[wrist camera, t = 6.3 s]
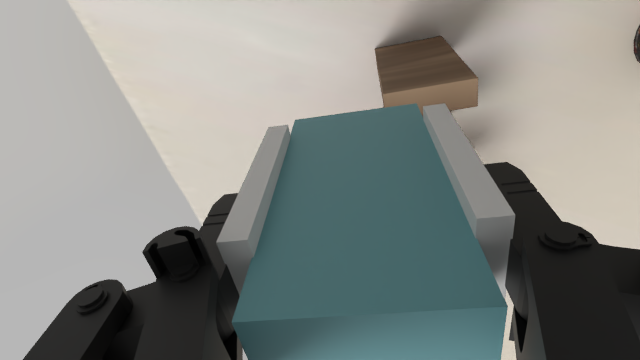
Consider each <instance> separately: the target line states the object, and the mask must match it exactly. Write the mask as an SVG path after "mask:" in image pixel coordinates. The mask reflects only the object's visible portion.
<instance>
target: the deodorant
mask: <svg viewBox="0 0 640 360" xmlns="http://www.w3.org/2000/svg"><path fill="white" fill-rule="evenodd" d="M634 54H635V56H636V59H637V61H638V62H639V63H640V26H639V28H638V30H637V32H636V35H635V39H634Z"/></svg>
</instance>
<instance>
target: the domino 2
mask: <svg viewBox="0 0 640 360" xmlns="http://www.w3.org/2000/svg"><path fill="white" fill-rule="evenodd" d="M375 54H376V61H377V69H378V75H379V81H380V87H381V92H382V98H383V104H384V108H386V107H393V106H401V105H408V104H415V103H417V105H418V108H419V110H420V112H421V114H422V115H423V106H429V105H436V104H444V103H445V104H446V106H447V108H448V109H449V111H450V110H457V109H463V108H469V107H476V106H478V77H477V76H476V75H475V74H474V73H473V72H472V71H471V69H470V68H469V67H468V66H467V65H466V64H465V63H464V61H463V60H462V59H461V58H460V57H459V56H458V55H457V53H456V52H455V51H454V50H453V49H452V48H451V46H450V45H449V44H448V43H447V42H446V41H445V40H444V38H443V37H442V36H438V37H433V38H428V39H423V40H418V41H412V42H407V43H402V44H397V45H392V46H386V47H381V48H376V49H375Z"/></svg>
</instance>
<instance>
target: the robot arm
mask: <svg viewBox="0 0 640 360" xmlns="http://www.w3.org/2000/svg"><path fill="white" fill-rule="evenodd" d="M423 120H424V123H425V125H426V127H427V129H428V132H429V134H430V136H431V138H432V141H433V143H434V145H435V148H436V150H437V152H438V154H439V157H440V159H441V161H442V163H443V166H444V168H445V170H446V172H447V175H448V177H449V179H450V182H451V184H452V186H453V188H454V191H455V193H456V195H457V197H458V200H459V202H460V204H461V207H462V209H463V211H464V213H465V216H466V218H467V220H468V222H469V225H470V227H471V229H472V231H473V234H474V236H475V238H477V239H478V241H479V244H480V246H481V248H482V250H483V253H484V255H485V257H486V259H487V261H488V264H489V266H490V268H491V270H492V273H493V275H494V277H495V279H496V282H497V284H498V286H499V288H500V291H501V293H502V295H503V297H504V299H505V296H506V289H507V291H508V293H509V295H510V298H511V300H512V302H513V304H514V308H513V315H512V322H511V329H510V336H509V340H511V341H515V349H516V358H517V360H640V250H639V249H630V248H622V247H614V246H608V245H603V244H599V243H598V242H597V240H596V239H595V238H594V236H593V235H592V234H591V233H589V232H588V231H586V230H585V229H583V228H581V227H579V226H576V225H573V224H571V223H568V222H562V221H561V220H560V218H559V217H558V216H557V214H556V213H555V212H554V211H553V209H552V208H551V207H550V206H549V204H548V203H547V202H546V201H545V199H544V198H543V197H542V195H541V194H540V193H539V192H537V189H536V188H535V187H534V185H533V184H532V183H530V180H529V179H528V178H527V176H526V175H525V174H524V173H523V171H522V170H520V169H518V168H517V167H515V166H513V165H511V164H509V163H508V162H503V163H494V164H485V165H484V164H483V163H482V161H481V160H480V158H479V157H478V155H477V153H476V152H475V150H474V149H473V147H472V146H471V144H470V142H469V141H468V139H467V138H466V136H465V134H464V133H463V131H462V130H461V128H460V127H459V125H458V123H457V122H456V120H455V119H454V117H453V115H452V114H451V112H450V111H449V109H448V108H447V106H446V104H445V103H444V104H436V105H429V106H423ZM290 138H291V136H290V132H289V128H288V125H283V126H275V127H268V130H267V132H266V134H265V136H264V138H263V141H262V143H261V145H260V147H259V149H258V152H257V154H256V156H255V158H254V160H253V163H252V165H251V167H250V169H249V171H248V173H247V176H246V178H245V180H244V182H243V184H242V187H241V189H240V191H239V193H235V194H226V195H223V196H222V197H221V198H220V199H219V200H218V201H217V202H216V203H215V204H213V206H212V208H211V210H210V212H209V214H208V217H206V219H205V221H204V223H203V226H202V227H201V228H200V230H199V231H198V230H197V229H195V228H193V227H187V226H186V227H185V226H184V227H177V228H174V229H171V230H168V231H165V232H163V233H162V234H160V235H158V236H157V237H155V238H154V239H153V240H152V241H150V242H149V243H148V244H147V245H146V247H145V249H144V250H143V254H144V256H145V258H146V260H147V262H148V263H149V265H150V267H151V269H152V270H153V272H154V274H155V276H156V278H157V279H156V282H153V283H151V284H148V285H145V286H142V287H139V288H136V289H132V290H129V291H126V290H125V288H124V286H123V285H122V283H120V282H119V281H118V280H104V281H99V282H97V283H94V284H92V285H90V286H88V287H86V288H84V289H83V290H82V291H80V292H79V293H77V294H76V295H75V296H74V297H73V298H72V299H71V300H70V301H69V302H68V303H67V304H66V306H65V307H64V308H63V309H62V310H61V312H60V313H59V314H58V316H57V317H56V318H55V320H54V321H53V322H52V323H51V324H50V326H49V327H48V328H47V330H46V331H45V332H44V334H43V335H42V336H41V337H40V338H39V340H38V341H37V342H36V343H35V345H34V346H33V347H32V349H31V350H30V351H29V352H28V354H27V355H26V356H25V357H24V359H23V360H242V345H241V342H240V340H239V338H238V336H237V334H236V331H235V329H234V327H233V325H232V319H233V316H234V313H235V310H236V307H237V303H238V300H239V297H240V294H241V291H242V287H243V284H244V281H245V278H246V275H247V272H248V268H249V265H250V262H251V259H252V257H254V255H255V251H256V248H257V245H258V242H259V238H260V235H261V232H262V229H263V226H264V222H265V219H266V216H267V213H268V209H269V206H270V203H271V200H272V196H273V193H274V190H275V187H276V184H277V180H278V177H279V174H280V171H281V167H282V164H283V161H284V158H285V155H286V151H287V148H288V145H289V142H290Z"/></svg>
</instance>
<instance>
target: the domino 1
mask: <svg viewBox="0 0 640 360" xmlns="http://www.w3.org/2000/svg"><path fill="white" fill-rule="evenodd" d="M290 136H291V138H290V142H289V145H288V148H287V151H286V155H285V158H284V161H283V164H282V167H281V171H280V174H279V177H278V180H277V184H276V187H275V190H274V193H273V196H272V200H271V203H270V206H269V209H268V213H267V216H266V219H265V222H264V226H263V229H262V232H261V235H260V238H259V242H258V245H257V248H256V251H255V255H254V257H252V259H251V262H250V265H249V268H248V272H247V275H246V278H245V281H244V284H243V287H242V291H241V294H240V297H239V300H238V303H237V307H236V310H235V313H234V316H233V319H232V325H233V327H234V329H235V331H236V334H237V336H238V338H239V340H240V342H241V345H242V347H243V349H244V351H245V354H246V356H247V358H248V360H501V353H502V345H503V337H504V330H505V322H506V315H507V307H508V306H507V304H506V302H505V299H504V297H503V295H502V293H501V291H500V288H499V286H498V284H497V282H496V279H495V277H494V275H493V273H492V270H491V268H490V266H489V264H488V261H487V259H486V257H485V255H484V253H483V250H482V248H481V246H480V244H479V241H478V239H477V238H475V236H474V234H473V231H472V229H471V227H470V225H469V222H468V220H467V218H466V216H465V213H464V211H463V209H462V207H461V204H460V202H459V200H458V197H457V195H456V193H455V191H454V188H453V186H452V184H451V182H450V179H449V177H448V175H447V172H446V170H445V168H444V166H443V163H442V161H441V159H440V157H439V154H438V152H437V150H436V148H435V145H434V143H433V141H432V138H431V136H430V134H429V132H428V129H427V127H426V125H425V123H424V120H423V116H422V114H421V112H420V110H419V108H418V105H417V103H415V104H408V105H401V106H393V107H386V108H379V109H372V110H364V111H357V112H350V113H343V114H335V115H328V116H321V117H314V118H306V119H299V120H295V122H294V126H293V129H292V132H291V135H290Z"/></svg>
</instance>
